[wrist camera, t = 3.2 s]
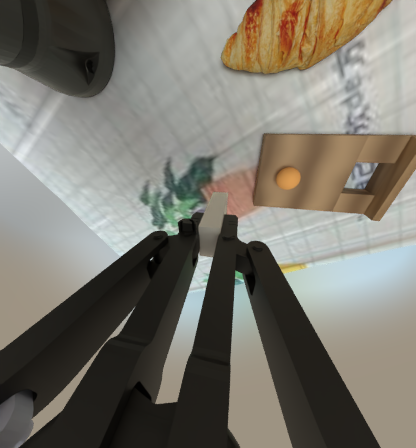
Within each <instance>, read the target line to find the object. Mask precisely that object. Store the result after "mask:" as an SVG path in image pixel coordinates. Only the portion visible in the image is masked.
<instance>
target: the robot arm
mask: <svg viewBox="0 0 416 448" xmlns="http://www.w3.org/2000/svg"><path fill="white" fill-rule="evenodd" d="M113 63H114V36H113V29H112V24H111V19H110V15H109V12H108V8H107V5H106V2H105V0H0V65H2V66H6V67H10V68H14V69H16V70H17V71H19V72H21V73H23V74H25V75H27V76H29V77H31V78H33V79H35V80H37V81H38V82H40V83H42V84H44V85H46V86H48V87H50V88H52V89H54V90H56V91H58V92H60V93H63V94H66V95H71V96H78V97H90V96H94V95H96V94H98V93H99V92H100V91H102V89H103V88H104V87H105V86H106V84H107V83H108V81H109V78H110V76H111V73H112V69H113ZM227 200H228V193H224V192H213V194H212V196H211V199H210V201H209V203H208V205H207V208H206V210H205V212H204V213H200V212H196V213H195V214H193V215H192V217H191V219H190V218H188V219H182V220H180V221H179V222H178V227H179V233H178V235H172V236H168V234H167V233H166V232H165V231H155V232H153V233H151V234H150V235H148V236H147V237H146V238H144V239H143V240H142V241H141V242H139V243H138V244H137V245H135V246H134V247H133V248H132V249H130V250H129V251H128V252H127V253H125V254H124V255H123V256H121V257H120V258H119V259H118V260H116V261H115V262H114V263H112V264H111V265H110V266H109V267H107V268H106V269H105V270H103V271H102V272H101V273H100V274H98V275H97V276H96V277H95V278H93V279H92V280H91V281H89V282H88V283H87V284H86V285H84V286H83V287H82V288H80V289H79V290H78V291H77V292H75V293H74V294H73V295H71V296H70V297H69V298H68V299H66V300H65V301H64V302H63V303H61V304H60V305H59V306H57V307H56V308H55V309H54V310H52V311H51V312H50V313H49V314H47V315H46V316H45V317H43V318H42V319H41V320H40V321H38V322H37V323H36V324H34V325H33V326H32V327H31V328H29V329H28V330H27V331H25V332H24V333H23V334H22V335H20V336H19V337H18V338H17V339H15V340H14V341H13V342H11V343H10V344H9V345H7V346H6V347H5V348H4V349H2V350H0V448H240V446H239V444H238V442H237V441H236V439H235V437H234V436H233V434H232V433H231V432H230V430H229V429H228V410H229V391H230V354H231V337H232V320H233V302H234V286H235V270H236V271H238V272H241V273H243V279H244V282H245V285H246V289H247V292H248V296H249V299H250V303H251V306H252V310H253V313H254V316H255V320H256V323H257V326H258V330H259V334H260V337H261V341H262V344H263V347H264V351H265V354H266V358H267V361H268V365H269V368H270V371H271V375H272V379H273V382H274V385H275V389H276V392H277V396H278V399H279V403H280V406H281V410H282V413H283V416H284V420H285V423H286V427H287V430H288V433H289V437H290V440H291V443H292V447H293V448H381V447H380V446H379V444H378V442H377V440H376V439H375V437H374V435H373V433H372V431H371V430H370V428H369V426H368V424H367V423H366V421H365V419H364V417H363V415H362V414H361V412H360V410H359V408H358V407H357V405H356V403H355V401H354V399H353V398H352V396H351V394H350V392H349V390H348V389H347V387H346V385H345V383H344V381H343V380H342V378H341V376H340V375H339V373H338V371H337V369H336V367H335V365H334V364H333V362H332V360H331V358H330V357H329V355H328V353H327V351H326V349H325V348H324V346H323V344H322V342H321V340H320V339H319V337H318V335H317V333H316V332H315V330H314V328H313V326H312V324H311V323H310V321H309V319H308V317H307V316H306V314H305V312H304V310H303V308H302V307H301V305H300V303H299V301H298V300H297V298H296V296H295V294H294V292H293V291H292V289H291V287H290V285H289V283H288V282H287V280H286V278H285V276H284V275H283V273H282V271H281V269H280V267H279V266H278V264H277V262H276V260H275V259H274V257H273V255H272V253H271V251H270V250H269V248H268V246H267V245H266V244H264V243H263V242H260V241H251V242H249V243H248V244H246V243H244V242H242V241H240V240H239V239H238V237H237V227H238V218H237V216H236V215H227ZM199 252H200V256H207V257H213V261H212V265H211V270H210V274H209V279H208V283H207V287H206V292H205V297H204V301H203V305H202V309H201V314H200V318H199V323H198V327H197V331H196V336H195V340H194V345H193V349H192V352H191V354H190V356H189V358H188V361H187V364H186V368H185V372H184V376H183V380H182V384H181V389H180V393H179V397H178V402H173V403H164V404H155V402H156V399H157V396H158V392H159V389H160V385H161V381H162V372H163V367H164V364H165V360H166V358H167V354H168V351H169V348H170V345H171V342H172V339H173V336H174V333H175V330H176V327H177V324H178V321H179V317H180V314H181V311H182V308H183V305H184V302H185V299H186V296H187V293H188V290H189V287H190V284H191V281H192V278H193V274H194V271H195V268H196V265H197V262H198V254H199ZM151 258H153V259H152V260H150V259H151ZM135 306H136V307H135ZM134 307H135V309H134V310H133V308H134ZM132 310H133V312H132V314H131V315H130V317H129V319H128V320H127V322H126V324H125V326H124V328H123V329H122V331H121V332H120V333H119V335H117V336H116V337H114V338H111V339H109V340H108V341H107V342H106V343H105V344H104V342H105V341H106V340H107V339H108V338H109V336H110V335H111V334H112V333H113V332H114V331H115V329H116V328H117V327H118V326H119V325H120V323H122V321H123V320H124V319H125V318H126V317H127V316H128V314H129V313H130V312H131V311H132ZM103 344H104V346H103V347H102V348H101V350H100V351H99V353H98V355H97V356H96V358H95V359H94V361H93V363H92V364H91V366H90V367H89V369H88V371H87V372H86V374H85V375H84V377H83V379H82V380H81V382H80V384H79V385H78V386H77V388H76V390H75V392H74V393H73V395H72V396H71V398H70V399H69V401H68V403H67V404H66V406H65V407H64V409H63V411H61V412H60V413H59V414H58V415H57V416H56V417H54V418H53V419H52V420H51V421H49V422H48V423H47V424H46V425H45V426H44V427H42V428H41V429H40V430H39V431H38V432H36V433H35V434H34V435H33V436H32V437H30V438H29V439H28V440H27V441H26V439H27V438H28V437H29V435H30V433H31V431H32V429H33V424H34V423H33V421H32V420H31V419H32V418H33V417H35V416H36V415H37V414H38V413H39V412H40V411H41V410H43V408H45V407H46V406H47V405H48V404H49V403H50V402H51V401H52V400H53V399H54V398H55V397H56V396H57V395H58V394H59V393H60V392H61V391H62V390H63V389H64V388H65V387H66V386H67V385H68V384H69V383H70V382H71V381H72V379H73V378H74V377H75V376H76V375H77V374H78V373H79V371H80V370H81V369H82V368H83V367H84V365H86V363H87V362H88V361H89V360H90V359H91V357H92V356H93V355H94V354H95V353H96V352H97V350H98V349H99V348H100V347H101V346H102V345H103ZM25 441H26V442H25ZM20 445H21V446H20ZM19 446H20V447H19Z"/></svg>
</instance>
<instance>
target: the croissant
mask: <svg viewBox="0 0 416 448" xmlns="http://www.w3.org/2000/svg"><path fill="white" fill-rule="evenodd" d="M391 1H392V0H256V1H255V2H254V3H253V4H252V5H251V6H250V7H249V8H248V9H247V11H246V13H245V15H244V18H243V21H242V22H241V24H240V25H239V27H238V31H237V33H234V34H233V35H232V36H231V37H230V38H229V39H227V41H226V45H225V47H224V50H223V52H222V55H221V59H222V61H223V63H224V64H225V65H226V66H227V67H229V68H232V69H235V70H236V69H237V70H246V71H249V72H253V73H257V72H263V73H264V74H268V73H278V72H279V71H283V70H287V69H292V68H295V67H298V69H300V70H302V69H303V70H305V69H308V68H309V67H311V66H313V65H314V64H316V63H318V62H320V61H321V60H322V59H324V58H326V57H327V56H329V55H330V54H332V53H333V52H335V51H336V50H338V49H339V48H340V47H342V46H343V45H345V44H346V43H348V42H349V41H351V40H352V39H353V38H354V37H356V36H357V35H358V34H359V33H360V32H361V31H362V30H364V29H365V28H366V26H367V25H368V24H369V23H371V22H372V21H373V20H374V19H375V18H376V16H377V15H378V13H379V12H380V11H381V10H382V9H384V8H385V7H386V6H387V5H388V4H390V2H391Z"/></svg>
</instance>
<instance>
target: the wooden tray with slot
mask: <svg viewBox="0 0 416 448" xmlns="http://www.w3.org/2000/svg"><path fill="white" fill-rule="evenodd" d="M356 162H367V163H379V165H378V166H377V168H376V170H375V172H374V173H373V175H372V177H371V179H370V181H369V182H368V184H367V186H366V188H365V189H348V188H344V186H345V184H346V182H347V180H348V178H349V176H350V174H351V172H352V170H353V168H354V166H355V163H356ZM287 167H293V168H295V169H297V170H298V171H299V173H300V176H301V178H300V182H299V184H298V185H297V186H296V187H295V188H293V189H290V190H284V189H281V188H280V187H279V186H278V185H277V182H276V177H277V175H278V173H279V172H280V171H281V170H282V169H284V168H287ZM415 169H416V135H359V134H264V136H263V142H262V148H261V154H260V160H259V166H258V172H257V178H256V184H255V190H254V196H253V204H254V206H267V207H280V208H293V209H306V210H319V211H332V212H345V213H358V214H364V215H366V216H367V217H368V218H370V219H371V220H374V221H380V220H381V218H382V217H383V215H384V214H385V212H386V211H387V210H388V208H389V207H390V205H391V204H392V202H393V201H394V200H395V198H396V197H397V195H398V194H399V192H400V191H401V189H402V188H403V187H404V185H405V184H406V182H407V181H408V179H409V178H410V176H411V175H412V174H413V172H414V171H415Z"/></svg>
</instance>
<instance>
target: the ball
mask: <svg viewBox="0 0 416 448" xmlns="http://www.w3.org/2000/svg"><path fill="white" fill-rule="evenodd" d="M300 178H301V176H300V173H299V171H298V170H297V169H295V168H293V167H287V168H284V169H282V170H281V171H280V172H279V173H278V175H277V177H276V182H277V185H278V186H279V187H280V188H281V189H284V190H290V189H293V188H295V187H296V186H297V185H298V184H299V182H300Z"/></svg>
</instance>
